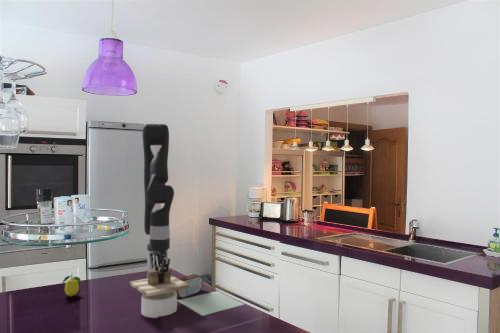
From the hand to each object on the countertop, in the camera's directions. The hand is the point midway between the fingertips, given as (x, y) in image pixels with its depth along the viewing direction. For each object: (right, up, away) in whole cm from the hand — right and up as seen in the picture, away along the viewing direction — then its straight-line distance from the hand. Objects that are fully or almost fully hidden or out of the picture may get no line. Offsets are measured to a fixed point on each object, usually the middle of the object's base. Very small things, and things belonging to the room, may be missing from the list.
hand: (159, 281), depth 152 cm
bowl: (0, -12, 0) cm, 12 cm away
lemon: (-41, -11, +15) cm, 45 cm away
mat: (+19, -12, +8) cm, 24 cm away
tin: (+9, -12, +18) cm, 23 cm away
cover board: (0, -2, 0) cm, 2 cm away
